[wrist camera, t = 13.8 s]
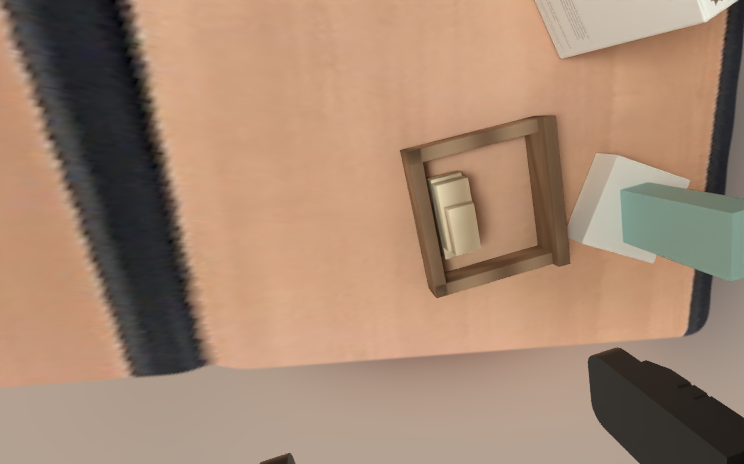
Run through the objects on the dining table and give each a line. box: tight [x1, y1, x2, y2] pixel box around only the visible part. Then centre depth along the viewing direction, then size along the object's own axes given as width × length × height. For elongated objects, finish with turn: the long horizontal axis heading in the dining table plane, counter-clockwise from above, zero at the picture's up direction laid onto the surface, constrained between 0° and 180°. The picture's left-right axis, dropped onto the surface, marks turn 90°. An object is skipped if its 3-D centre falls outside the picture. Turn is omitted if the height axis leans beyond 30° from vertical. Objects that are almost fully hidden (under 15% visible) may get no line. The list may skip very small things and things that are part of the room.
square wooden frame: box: [400, 116, 570, 298], centre depth 40 cm, size 14×14×4 cm
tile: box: [567, 153, 691, 263], centre depth 43 cm, size 9×9×3 cm
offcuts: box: [426, 171, 481, 259], centre depth 40 cm, size 3×8×4 cm, turn 13°
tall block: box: [620, 182, 744, 282], centre depth 37 cm, size 3×6×11 cm, turn 14°
